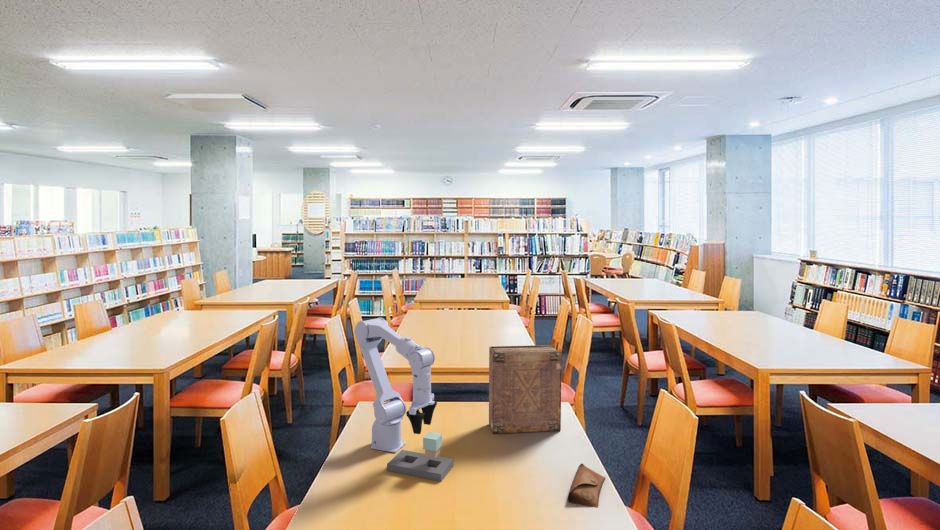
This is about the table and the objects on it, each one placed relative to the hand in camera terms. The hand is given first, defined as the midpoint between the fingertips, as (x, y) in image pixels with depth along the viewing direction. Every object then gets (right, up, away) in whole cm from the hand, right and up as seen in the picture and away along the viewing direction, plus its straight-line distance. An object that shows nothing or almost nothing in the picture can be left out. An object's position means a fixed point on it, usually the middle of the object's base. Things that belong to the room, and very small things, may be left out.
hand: (422, 428), depth 156 cm
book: (+35, -9, +27) cm, 45 cm away
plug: (+4, -6, -6) cm, 9 cm away
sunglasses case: (+49, -13, -15) cm, 53 cm away
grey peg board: (0, -11, -4) cm, 12 cm away
